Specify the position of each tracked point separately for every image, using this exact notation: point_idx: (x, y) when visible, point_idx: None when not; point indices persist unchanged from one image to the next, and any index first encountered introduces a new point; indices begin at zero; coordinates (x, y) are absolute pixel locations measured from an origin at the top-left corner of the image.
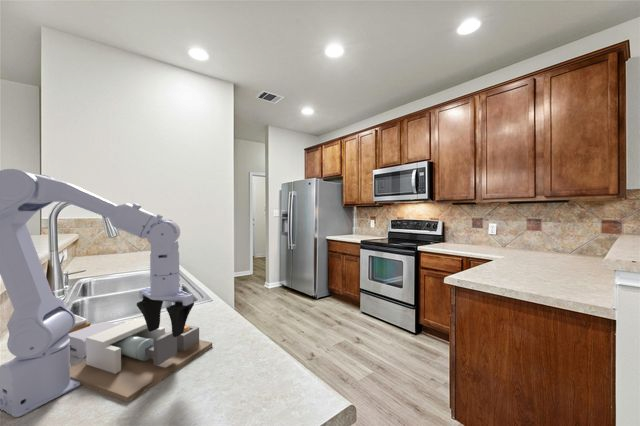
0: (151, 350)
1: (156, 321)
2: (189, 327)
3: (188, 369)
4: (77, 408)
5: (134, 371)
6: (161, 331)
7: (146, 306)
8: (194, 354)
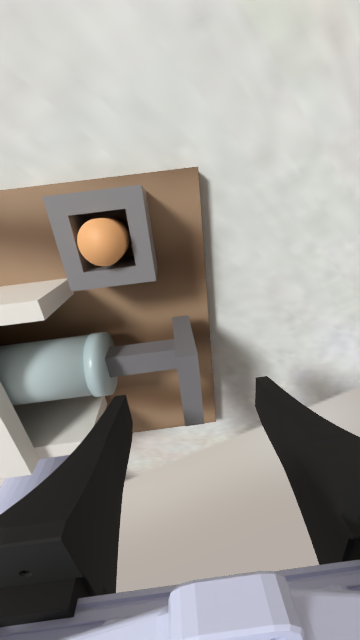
0: (138, 372)
1: (120, 427)
2: (114, 224)
3: (233, 303)
4: (151, 450)
5: (137, 382)
6: (47, 312)
7: (112, 575)
8: (204, 261)
